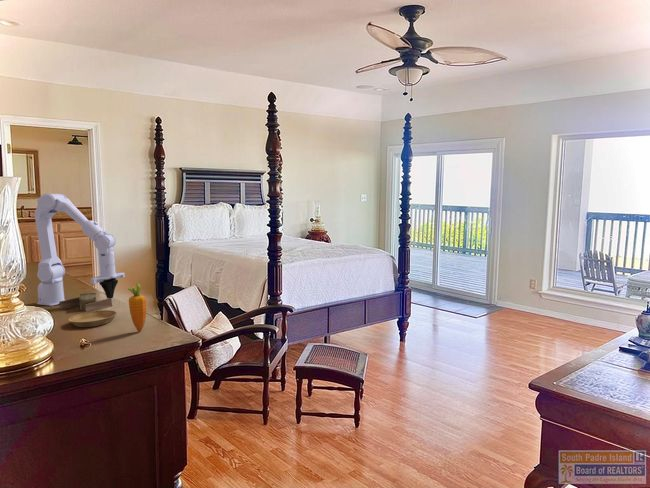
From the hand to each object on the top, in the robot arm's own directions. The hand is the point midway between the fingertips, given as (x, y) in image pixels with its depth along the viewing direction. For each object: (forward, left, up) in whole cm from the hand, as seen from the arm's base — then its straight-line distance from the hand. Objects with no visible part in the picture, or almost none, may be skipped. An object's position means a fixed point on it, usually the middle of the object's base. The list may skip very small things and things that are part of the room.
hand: (110, 298), depth 191 cm
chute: (0, -11, -1) cm, 11 cm away
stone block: (0, -10, -2) cm, 10 cm away
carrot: (+46, -26, -2) cm, 53 cm away
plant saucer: (+22, -24, -2) cm, 33 cm away
